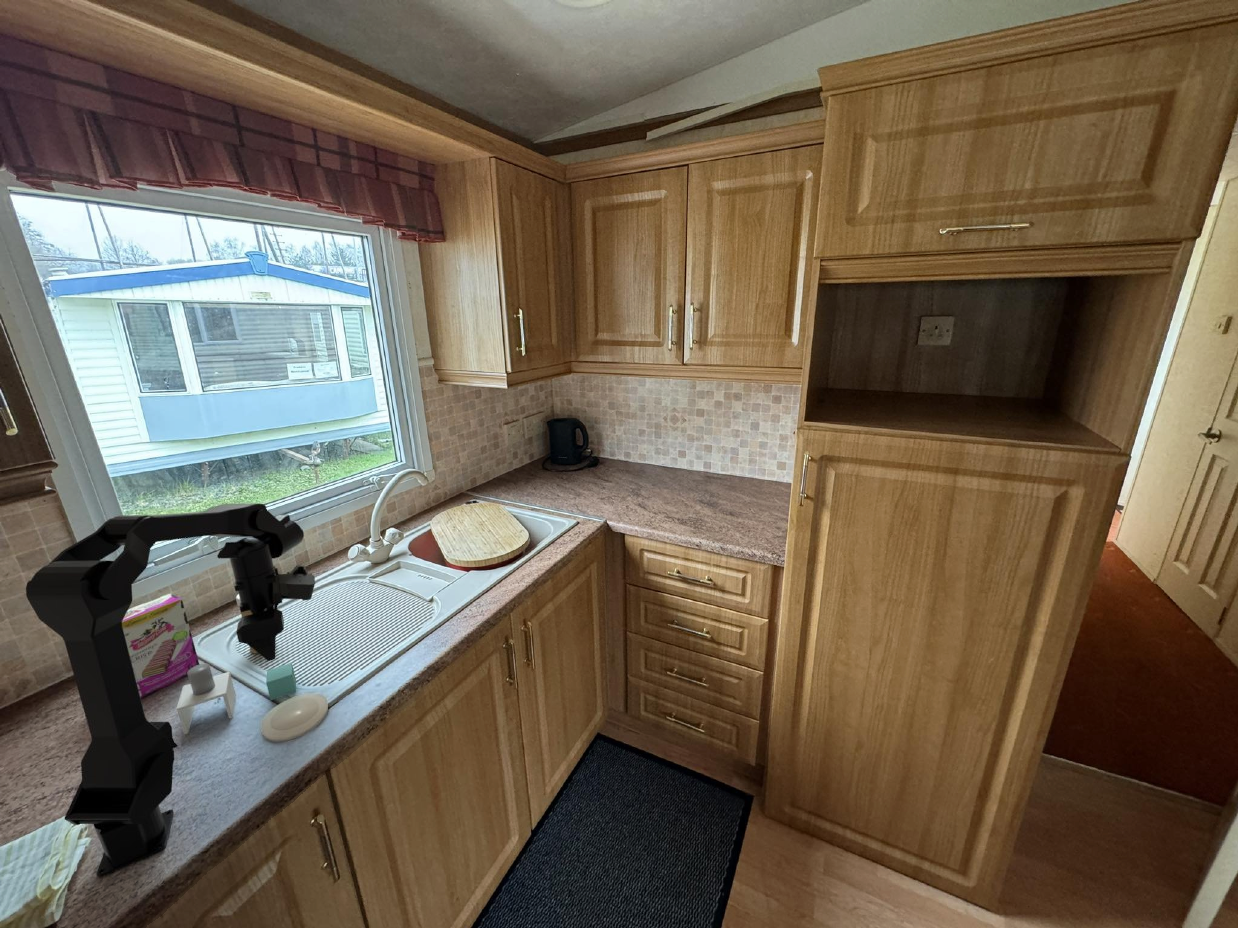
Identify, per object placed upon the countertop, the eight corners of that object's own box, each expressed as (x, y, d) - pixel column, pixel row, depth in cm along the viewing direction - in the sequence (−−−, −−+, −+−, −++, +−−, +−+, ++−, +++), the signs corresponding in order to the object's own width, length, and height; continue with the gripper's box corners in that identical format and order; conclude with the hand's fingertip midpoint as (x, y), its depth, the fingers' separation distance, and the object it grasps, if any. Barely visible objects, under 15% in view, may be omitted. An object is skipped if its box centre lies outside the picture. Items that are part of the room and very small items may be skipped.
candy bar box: (131, 705, 89) (105, 628, 85) (119, 697, 92) (92, 621, 87) (203, 668, 99) (182, 597, 95) (190, 661, 101) (169, 591, 97)
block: (296, 691, 92) (292, 674, 91) (270, 700, 90) (266, 682, 89) (295, 679, 96) (291, 662, 94) (271, 687, 93) (267, 670, 92)
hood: (232, 717, 86) (220, 672, 84) (184, 734, 83) (169, 687, 80) (236, 695, 92) (224, 652, 89) (190, 709, 88) (177, 665, 86)
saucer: (330, 724, 84) (329, 718, 84) (260, 751, 79) (258, 745, 79) (327, 690, 92) (325, 685, 92) (263, 712, 87) (261, 707, 87)
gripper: (309, 579, 83) (325, 657, 87) (306, 541, 98) (320, 609, 102) (226, 599, 77) (248, 681, 81) (237, 555, 92) (255, 627, 96)
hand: (272, 646), depth 90 cm, fingers open, 9 cm apart
